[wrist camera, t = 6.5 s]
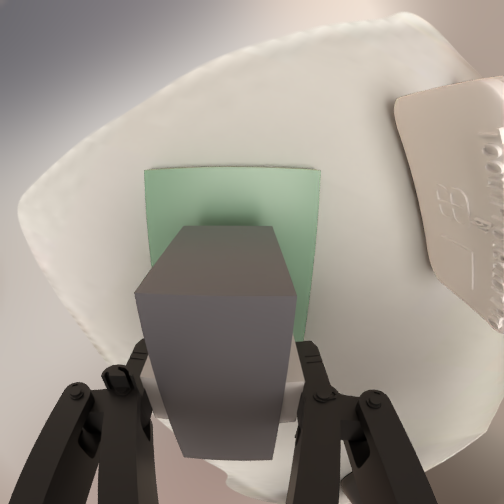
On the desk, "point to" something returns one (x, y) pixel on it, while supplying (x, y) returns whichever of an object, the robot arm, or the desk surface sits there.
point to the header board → (240, 212)
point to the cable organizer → (460, 186)
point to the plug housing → (220, 338)
